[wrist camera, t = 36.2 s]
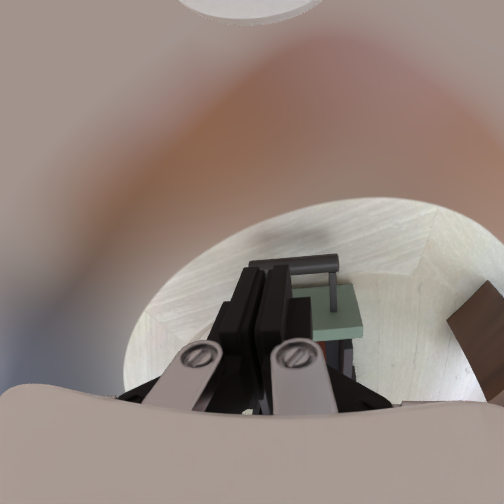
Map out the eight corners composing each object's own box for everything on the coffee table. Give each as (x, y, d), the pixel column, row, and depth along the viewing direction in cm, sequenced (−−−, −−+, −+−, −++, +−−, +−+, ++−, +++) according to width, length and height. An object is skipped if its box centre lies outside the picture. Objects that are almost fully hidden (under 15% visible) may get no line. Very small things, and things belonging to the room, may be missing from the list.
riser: (446, 320, 29) (487, 403, 18) (487, 279, 26) (545, 351, 15) (468, 346, 30) (504, 421, 18) (506, 310, 27) (553, 378, 16)
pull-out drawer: (238, 243, 28) (220, 278, 22) (351, 233, 26) (365, 267, 20) (264, 377, 35) (256, 420, 29) (349, 372, 33) (354, 417, 27)
